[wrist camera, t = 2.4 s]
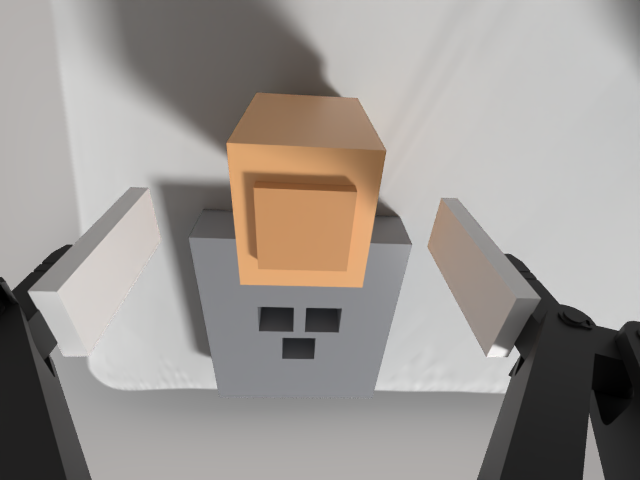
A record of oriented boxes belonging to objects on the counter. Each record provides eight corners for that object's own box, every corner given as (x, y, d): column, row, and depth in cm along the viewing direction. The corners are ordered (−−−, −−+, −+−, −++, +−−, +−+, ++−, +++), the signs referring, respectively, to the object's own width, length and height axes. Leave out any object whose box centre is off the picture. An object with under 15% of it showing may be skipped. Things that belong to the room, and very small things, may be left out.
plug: (261, 84, 22) (222, 148, 12) (353, 89, 22) (389, 156, 12) (264, 183, 26) (238, 293, 16) (342, 186, 26) (363, 295, 16)
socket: (202, 209, 27) (188, 237, 24) (399, 216, 28) (412, 244, 25) (227, 363, 38) (219, 397, 35) (366, 365, 39) (372, 398, 36)
